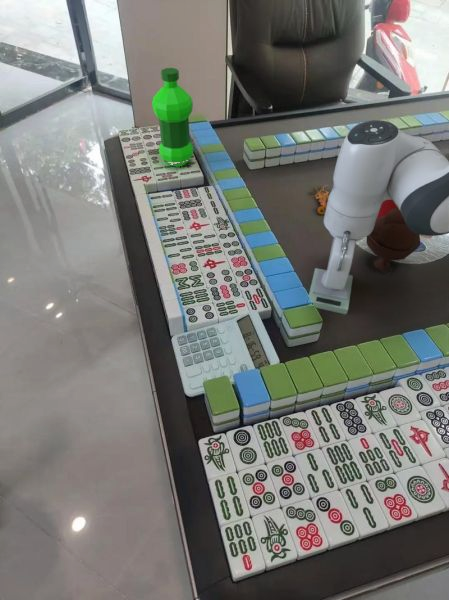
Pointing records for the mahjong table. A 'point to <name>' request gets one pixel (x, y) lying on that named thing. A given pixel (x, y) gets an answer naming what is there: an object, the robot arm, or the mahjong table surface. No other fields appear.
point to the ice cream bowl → (392, 239)
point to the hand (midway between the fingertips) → (334, 272)
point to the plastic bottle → (173, 119)
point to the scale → (329, 294)
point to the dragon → (323, 200)
